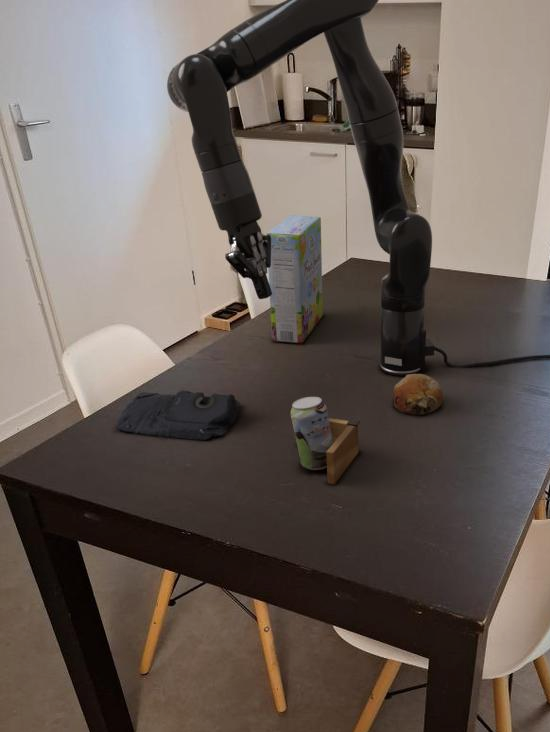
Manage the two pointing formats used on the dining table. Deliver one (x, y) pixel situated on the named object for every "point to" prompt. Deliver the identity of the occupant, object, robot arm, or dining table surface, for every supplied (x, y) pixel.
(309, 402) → the beverage can
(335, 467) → the shelf corner
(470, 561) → the dining table surface
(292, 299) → the snack box
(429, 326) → the dining table surface
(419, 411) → the bread roll
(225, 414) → the grommeted fabric pouch
